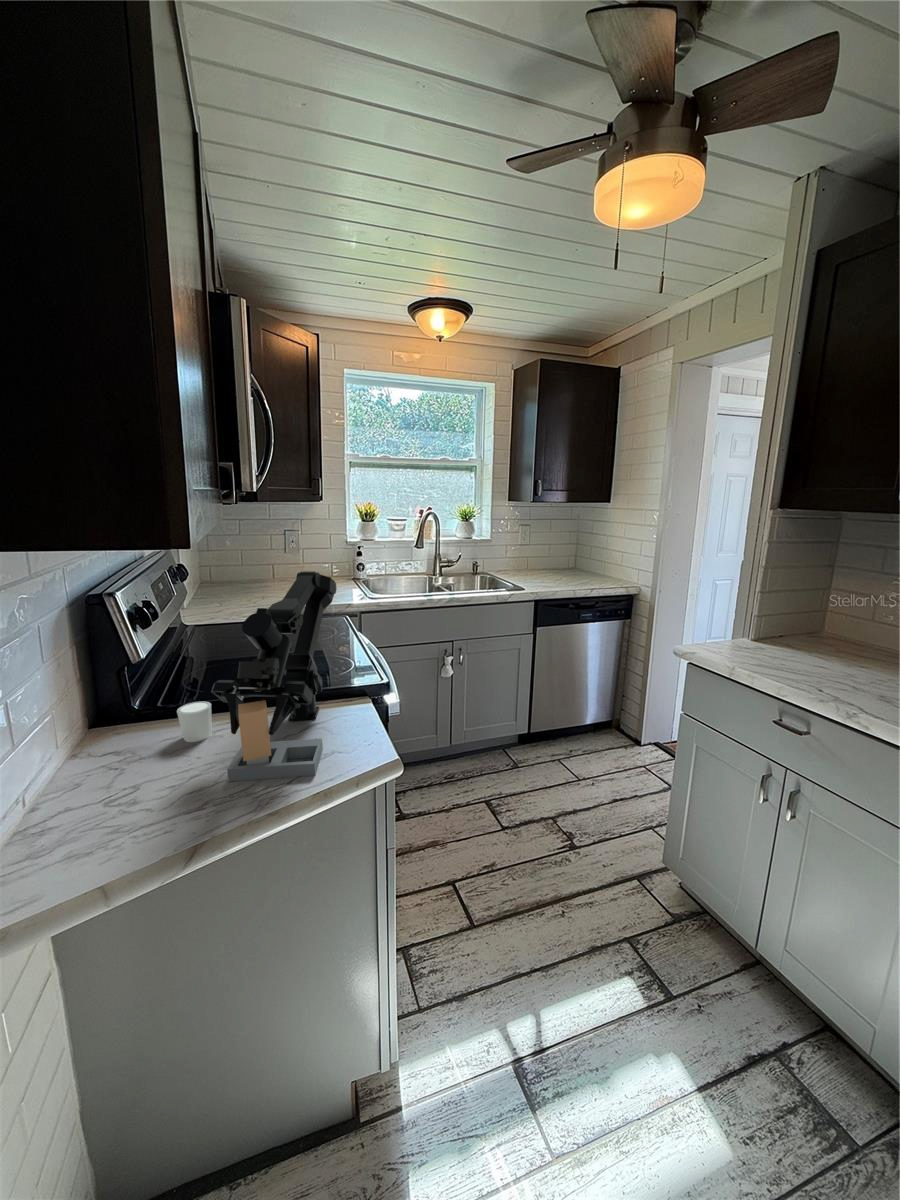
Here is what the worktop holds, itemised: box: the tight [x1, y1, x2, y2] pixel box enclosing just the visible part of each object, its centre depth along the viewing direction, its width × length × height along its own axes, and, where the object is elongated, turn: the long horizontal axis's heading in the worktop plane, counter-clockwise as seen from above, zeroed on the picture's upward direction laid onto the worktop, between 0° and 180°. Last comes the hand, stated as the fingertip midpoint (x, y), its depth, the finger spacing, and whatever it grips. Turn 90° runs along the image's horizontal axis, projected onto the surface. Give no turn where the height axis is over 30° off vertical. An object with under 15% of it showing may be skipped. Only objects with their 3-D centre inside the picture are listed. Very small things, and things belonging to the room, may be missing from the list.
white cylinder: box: [176, 701, 213, 743], centre depth 108 cm, size 7×7×7 cm
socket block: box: [226, 738, 324, 783], centre depth 97 cm, size 10×16×2 cm, turn 97°
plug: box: [238, 699, 271, 765], centre depth 94 cm, size 5×5×13 cm
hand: (251, 734), depth 92 cm, fingers open, 7 cm apart
